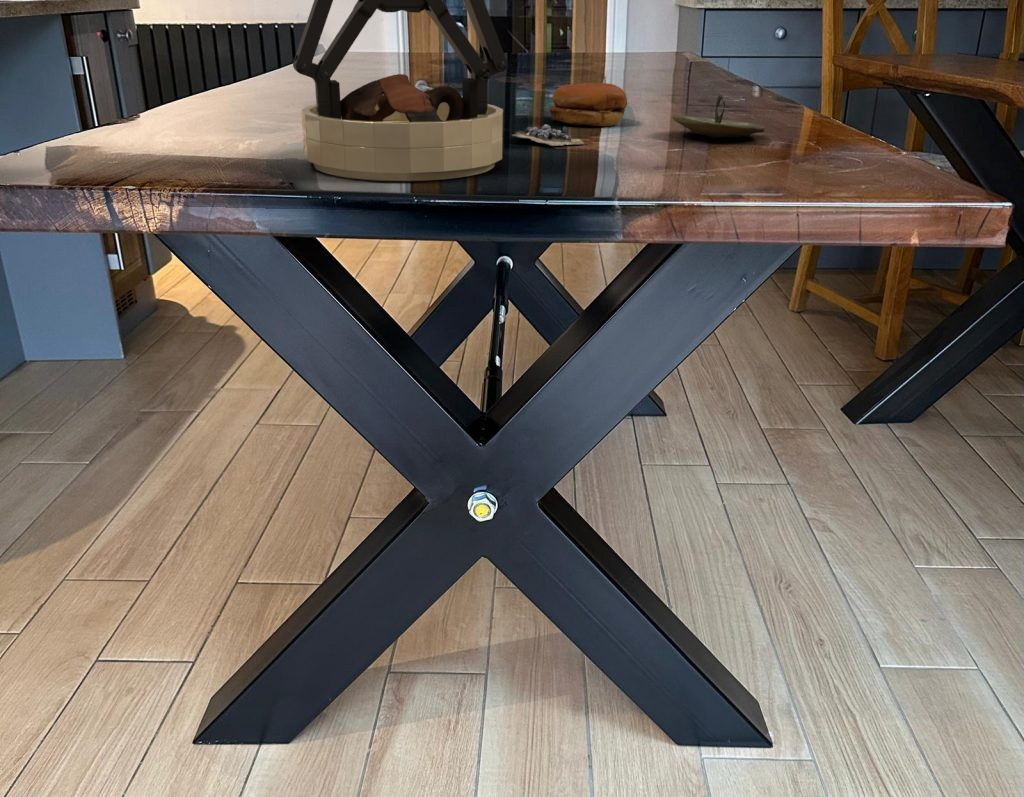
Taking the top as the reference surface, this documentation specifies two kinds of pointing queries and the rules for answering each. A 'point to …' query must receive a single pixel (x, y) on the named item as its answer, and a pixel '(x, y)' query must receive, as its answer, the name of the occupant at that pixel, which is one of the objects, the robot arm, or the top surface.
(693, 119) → the lid
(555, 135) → the blueberries
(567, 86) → the burger
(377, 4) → the robot arm
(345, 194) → the top surface
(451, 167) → the bowl
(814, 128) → the top surface
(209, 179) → the top surface
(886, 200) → the top surface
